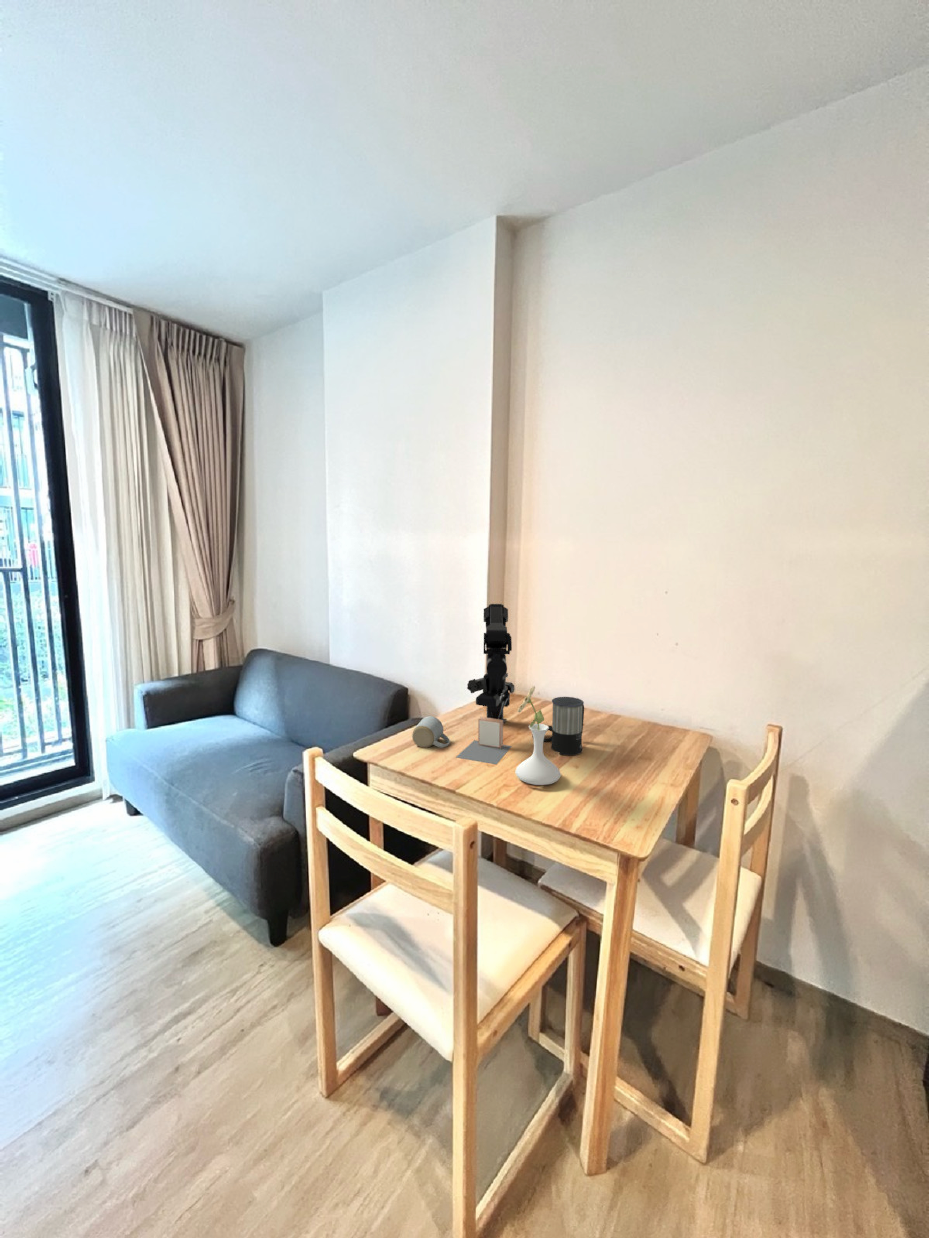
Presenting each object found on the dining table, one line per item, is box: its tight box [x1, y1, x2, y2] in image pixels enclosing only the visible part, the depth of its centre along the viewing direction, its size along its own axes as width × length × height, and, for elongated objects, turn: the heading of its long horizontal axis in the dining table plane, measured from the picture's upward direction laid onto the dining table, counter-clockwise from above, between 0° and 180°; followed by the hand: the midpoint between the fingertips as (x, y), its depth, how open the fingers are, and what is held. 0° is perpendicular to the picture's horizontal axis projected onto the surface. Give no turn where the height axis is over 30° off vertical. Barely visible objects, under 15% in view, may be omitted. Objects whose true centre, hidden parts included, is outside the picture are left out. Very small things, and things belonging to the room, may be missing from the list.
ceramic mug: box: [411, 715, 451, 749], centre depth 147 cm, size 11×8×8 cm
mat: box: [455, 739, 513, 765], centre depth 141 cm, size 14×12×1 cm
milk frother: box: [531, 696, 585, 756], centre depth 146 cm, size 14×16×15 cm
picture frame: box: [477, 716, 504, 748], centre depth 145 cm, size 2×7×8 cm, turn 67°
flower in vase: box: [514, 685, 562, 786], centre depth 123 cm, size 13×11×25 cm
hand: (495, 721), depth 149 cm, fingers closed
